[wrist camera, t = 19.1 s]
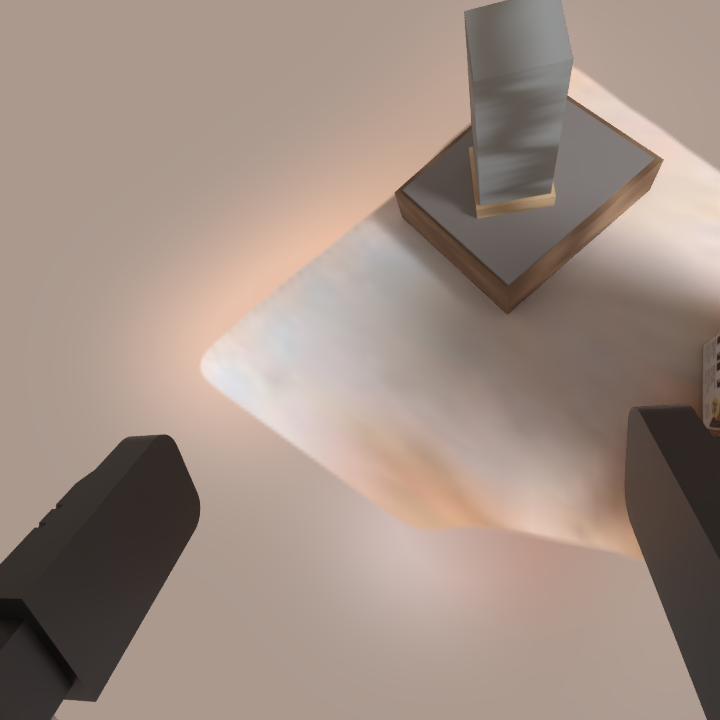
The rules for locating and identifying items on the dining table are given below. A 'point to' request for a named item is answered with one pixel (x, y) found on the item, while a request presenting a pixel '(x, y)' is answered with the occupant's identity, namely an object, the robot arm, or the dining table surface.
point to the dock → (536, 226)
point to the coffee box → (711, 383)
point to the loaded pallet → (516, 102)
